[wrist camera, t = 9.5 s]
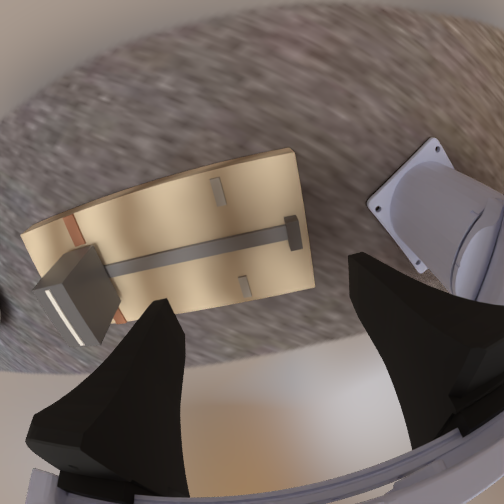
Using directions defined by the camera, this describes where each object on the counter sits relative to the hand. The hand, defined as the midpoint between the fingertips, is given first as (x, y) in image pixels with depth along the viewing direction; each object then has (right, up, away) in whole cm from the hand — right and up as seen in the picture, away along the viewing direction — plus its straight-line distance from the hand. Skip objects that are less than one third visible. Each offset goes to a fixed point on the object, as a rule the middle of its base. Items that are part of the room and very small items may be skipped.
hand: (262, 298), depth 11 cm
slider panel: (-8, +2, +10) cm, 13 cm away
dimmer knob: (-12, 0, +8) cm, 15 cm away
